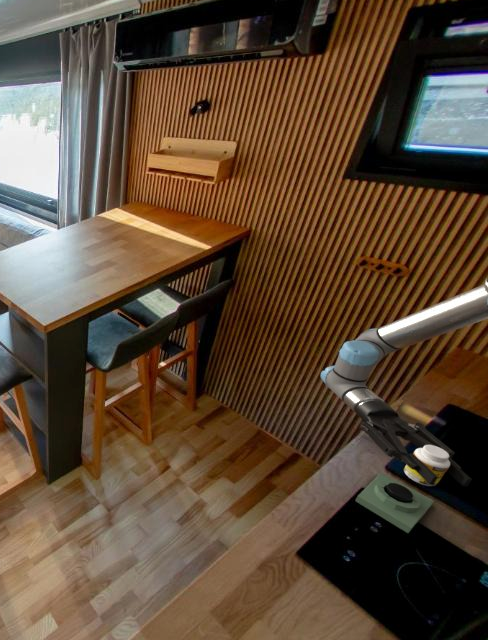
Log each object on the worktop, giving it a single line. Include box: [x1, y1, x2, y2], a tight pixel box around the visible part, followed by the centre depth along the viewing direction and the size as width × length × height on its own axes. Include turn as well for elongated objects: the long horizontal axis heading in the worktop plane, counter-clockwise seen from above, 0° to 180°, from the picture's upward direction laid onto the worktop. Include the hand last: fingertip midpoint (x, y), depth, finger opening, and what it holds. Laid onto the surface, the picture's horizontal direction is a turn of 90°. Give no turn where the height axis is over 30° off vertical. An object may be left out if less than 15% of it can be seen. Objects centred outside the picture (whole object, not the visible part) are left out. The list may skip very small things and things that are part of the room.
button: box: [385, 483, 413, 503], centre depth 87 cm, size 4×4×2 cm
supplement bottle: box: [403, 445, 450, 487], centre depth 91 cm, size 6×6×10 cm
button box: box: [354, 472, 435, 534], centre depth 88 cm, size 12×9×4 cm
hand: (450, 481), depth 86 cm, fingers closed on supplement bottle, 5 cm apart
